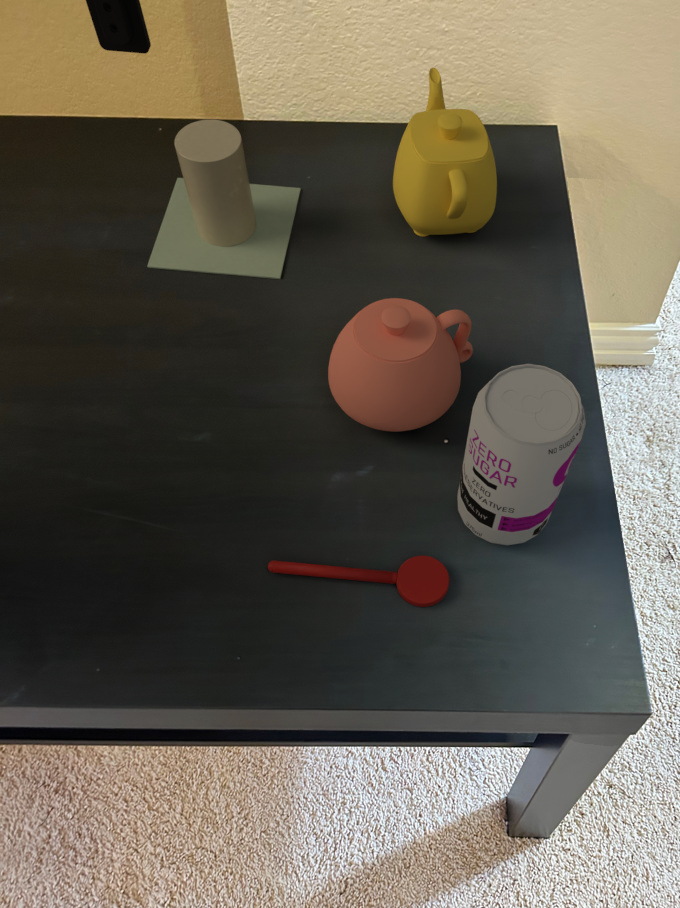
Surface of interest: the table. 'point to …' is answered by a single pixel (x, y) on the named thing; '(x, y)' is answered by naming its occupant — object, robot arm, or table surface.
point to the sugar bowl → (398, 364)
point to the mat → (249, 258)
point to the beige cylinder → (216, 181)
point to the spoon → (385, 577)
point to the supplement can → (518, 452)
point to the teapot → (445, 169)
